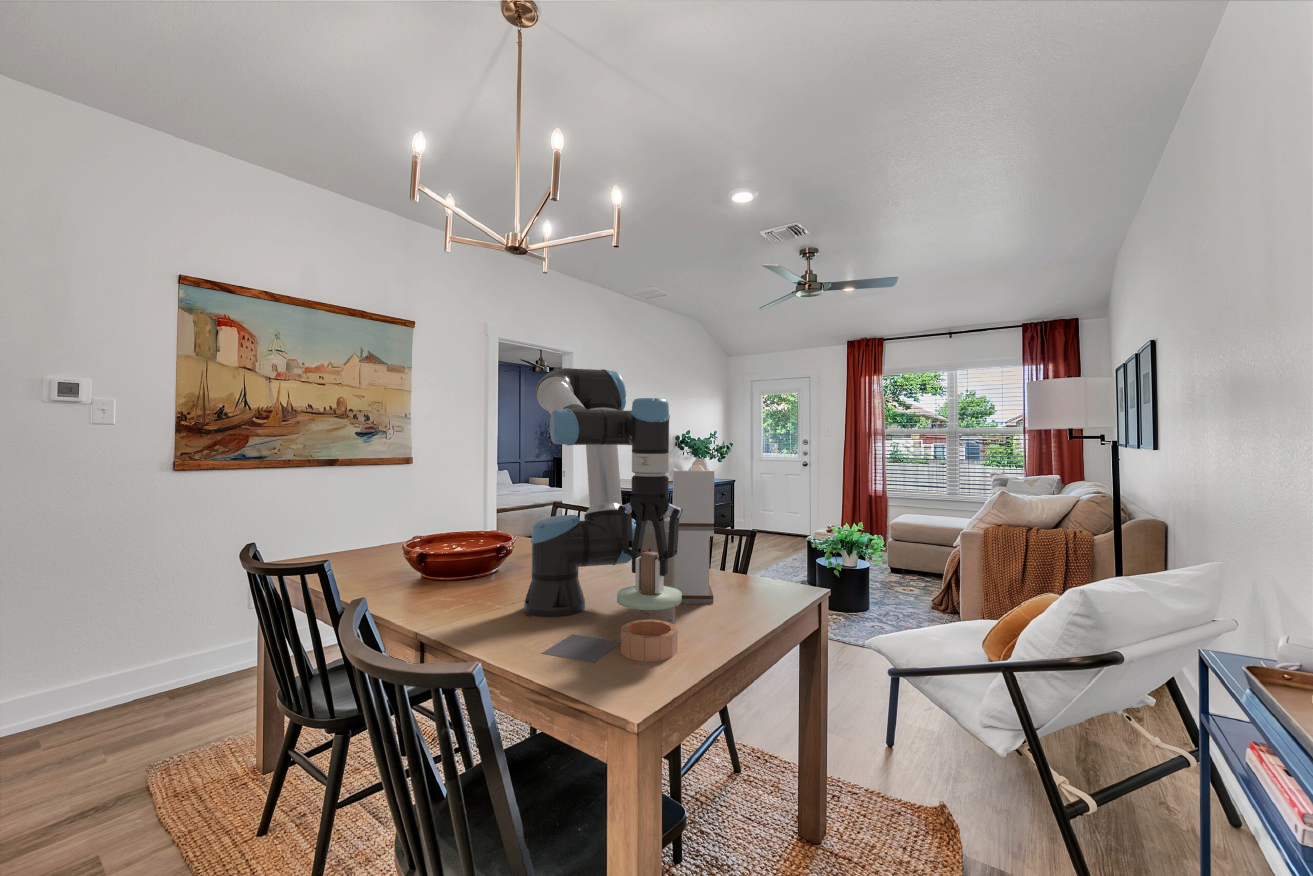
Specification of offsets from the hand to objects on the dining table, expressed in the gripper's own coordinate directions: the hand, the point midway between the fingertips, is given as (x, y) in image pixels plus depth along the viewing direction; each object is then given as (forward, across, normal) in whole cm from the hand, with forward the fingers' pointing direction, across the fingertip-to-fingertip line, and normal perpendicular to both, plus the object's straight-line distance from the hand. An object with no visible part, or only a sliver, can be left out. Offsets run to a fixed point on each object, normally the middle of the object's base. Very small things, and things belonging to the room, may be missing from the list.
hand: (649, 590), depth 115 cm
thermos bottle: (+13, -5, +17) cm, 22 cm away
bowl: (+13, 0, 0) cm, 13 cm away
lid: (+2, 0, 0) cm, 2 cm away
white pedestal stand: (+13, -5, +42) cm, 44 cm away
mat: (+13, -13, -4) cm, 19 cm away
